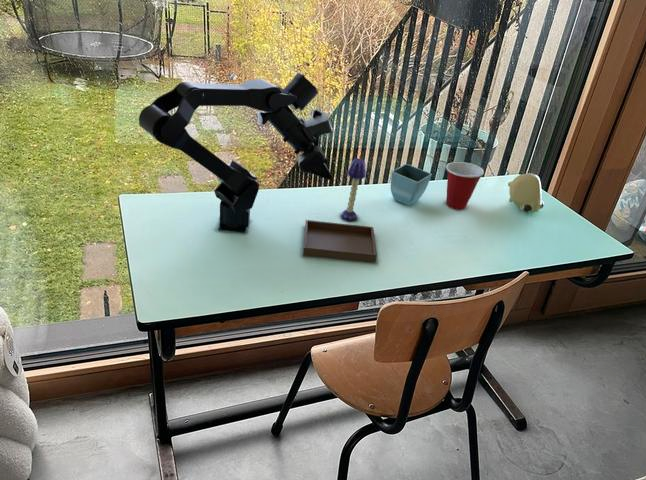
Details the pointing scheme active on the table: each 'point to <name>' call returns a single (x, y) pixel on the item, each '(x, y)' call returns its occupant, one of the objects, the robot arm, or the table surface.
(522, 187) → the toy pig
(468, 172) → the plastic cup
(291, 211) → the table surface
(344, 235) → the tray
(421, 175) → the flower pot
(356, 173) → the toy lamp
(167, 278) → the table surface
